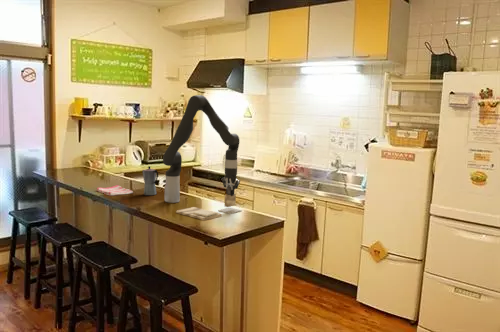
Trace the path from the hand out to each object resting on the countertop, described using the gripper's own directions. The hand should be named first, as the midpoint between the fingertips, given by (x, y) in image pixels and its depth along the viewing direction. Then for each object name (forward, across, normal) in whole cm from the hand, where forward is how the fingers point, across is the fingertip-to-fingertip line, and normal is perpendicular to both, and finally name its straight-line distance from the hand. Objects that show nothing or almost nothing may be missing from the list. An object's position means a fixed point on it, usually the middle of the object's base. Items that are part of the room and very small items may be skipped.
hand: (230, 195), depth 254 cm
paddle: (+7, 0, 0) cm, 7 cm away
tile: (+8, -2, -19) cm, 21 cm away
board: (+10, -8, -19) cm, 23 cm away
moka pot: (+10, -71, -5) cm, 72 cm away
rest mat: (+10, 0, 0) cm, 10 cm away
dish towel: (+11, -95, -19) cm, 97 cm away
